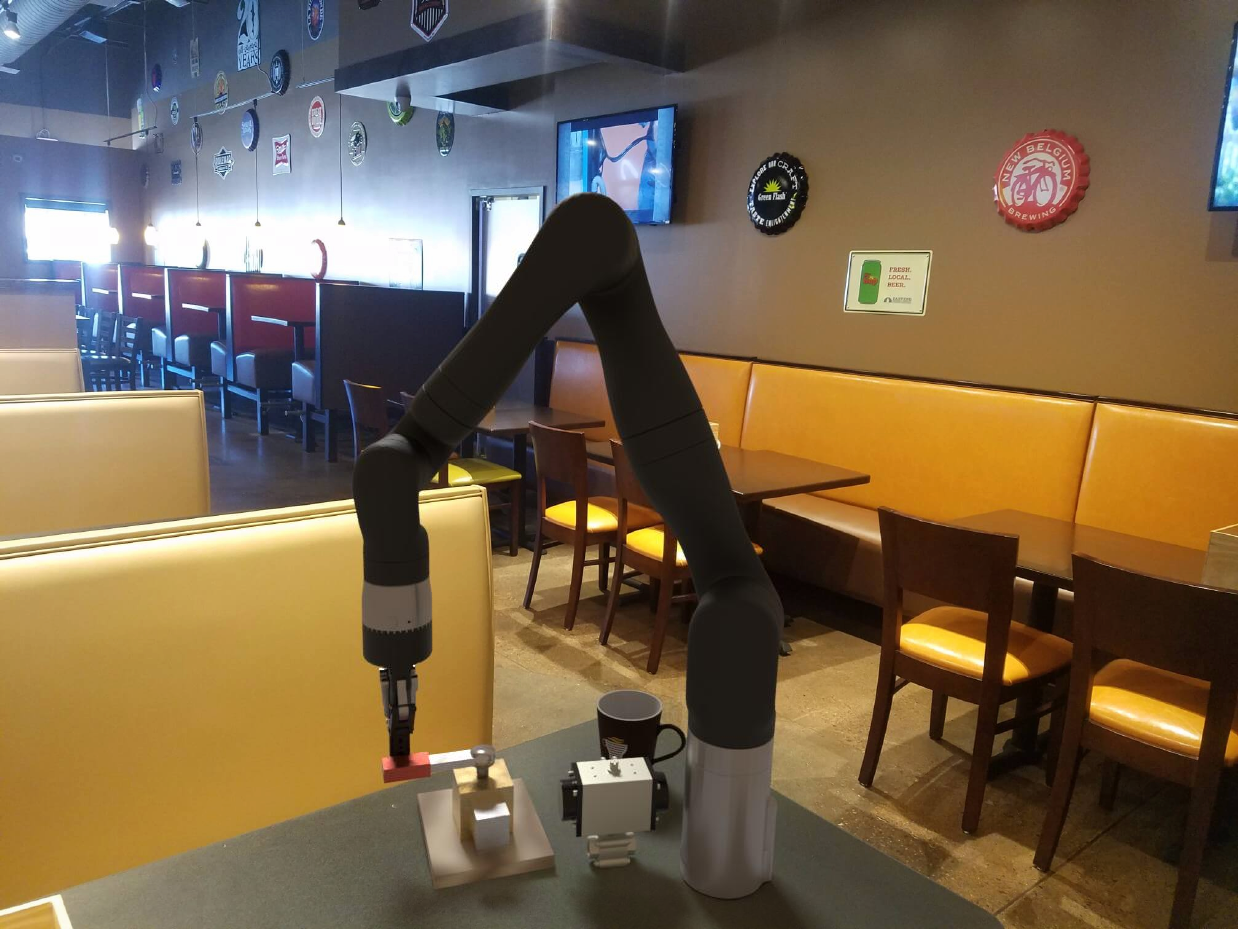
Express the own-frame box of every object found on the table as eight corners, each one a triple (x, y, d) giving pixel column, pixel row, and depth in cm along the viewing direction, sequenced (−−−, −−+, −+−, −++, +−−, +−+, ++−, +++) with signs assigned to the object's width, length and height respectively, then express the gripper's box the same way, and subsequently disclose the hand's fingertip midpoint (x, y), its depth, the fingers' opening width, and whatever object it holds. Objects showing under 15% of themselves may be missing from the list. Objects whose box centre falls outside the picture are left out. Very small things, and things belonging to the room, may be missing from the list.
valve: (496, 788, 108) (497, 733, 106) (520, 852, 96) (520, 791, 94) (448, 796, 106) (447, 740, 104) (465, 862, 94) (465, 800, 92)
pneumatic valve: (666, 867, 96) (671, 768, 94) (561, 878, 94) (564, 777, 92) (654, 837, 102) (658, 742, 99) (555, 846, 99) (557, 750, 97)
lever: (492, 755, 101) (492, 742, 101) (497, 767, 98) (497, 754, 98) (382, 770, 97) (381, 757, 96) (384, 784, 94) (383, 770, 94)
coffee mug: (581, 770, 115) (583, 700, 113) (632, 751, 120) (634, 684, 118) (635, 812, 106) (638, 737, 104) (688, 790, 111) (692, 718, 109)
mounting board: (521, 788, 110) (521, 778, 110) (554, 867, 96) (554, 854, 95) (417, 805, 106) (417, 793, 106) (434, 889, 91) (434, 876, 91)
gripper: (439, 634, 91) (440, 785, 94) (424, 593, 103) (426, 727, 106) (365, 641, 88) (369, 796, 92) (359, 598, 100) (362, 735, 104)
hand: (399, 759), depth 99 cm, fingers closed
